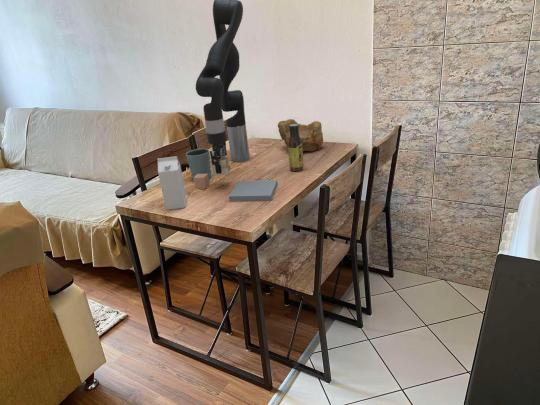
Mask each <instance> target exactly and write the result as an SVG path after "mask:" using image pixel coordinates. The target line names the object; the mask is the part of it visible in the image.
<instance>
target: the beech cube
mask: <svg viewBox="0 0 540 405" xmlns="http://www.w3.org/2000/svg"><path fill="white" fill-rule="evenodd" d="M218 157H219V156H218ZM218 160H219V159H218ZM216 162H217V161H216ZM220 162H221V171H222V173H221V174H217V173H216V169H215V165H212V160H211V159H210V165H211V168H210V169H211V175H212V176H227V175H229V172H230V171H231V164H230V156H229V155H227V156H222V159H221V161H220Z"/></svg>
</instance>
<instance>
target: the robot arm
mask: <svg viewBox="0 0 540 405" xmlns="http://www.w3.org/2000/svg"><path fill="white" fill-rule="evenodd" d="M243 14H244V5H243V3H242V1H240V0H213V4H212V16H213V17H212V18H213V26H214V31H215V39H216V41H215V42H214V43H213V44H212V46H211V47H210V49H209V50H208V51H209V52H208V54H207V59H206V62H205V65H204V67H203V68H202V70H201V72H200V74H198V75H199V76H198V77H197V79H196V82H195V91H196V94H197V95H198V96H199V97H203V98H211V99H210V100H211V101H210V102H207V103H206V104H204V105H203V116H204V123H205V124H204V127H205V132H206V140H207V143H208V144H209V145H211V146H212V148H211V150H209V155H210V161H211V160H212V165H215V169H216V173H217V174H221V173H222V171H221V162H220V161H221V159H222V156H228V155H227V154H228V152H227V142H226V141H227V139H228V146H229V153H230V160H231V162H235V163H240V162H241V163H242V162H246V161H248V160H250V158H251V156H250V149H249V141H248V140H249V139H248V132H247V123H246V113H245V101H244V99H245V98H244V94H243V92H242V90H241V89H235V90H229V88H230V86H231V84H232V82H233V81H234V79H235V78H236V76H237V74H238V72H239V70H240V52H239V50H238V48H237V46H236V44H235V43H234V40H235V38H236V35H237V33H238V31H239V28H240V25H241V23H242V20H243V16H244V15H243ZM226 25H227V26H228V27H227V28H226ZM223 112H227V113H229V112H235V113H234V115H233V116H230V117H229V118H227V119H226V121H224V120H225V119H224V116H223ZM225 123H226V125H225ZM226 131H227V132H226ZM226 133H227V134H226ZM227 136H228V137H227ZM218 156H219V157H218ZM218 159H219V160H218ZM216 161H217V162H216Z"/></svg>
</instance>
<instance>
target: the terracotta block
mask: <svg viewBox="0 0 540 405" xmlns="http://www.w3.org/2000/svg"><path fill="white" fill-rule="evenodd" d="M209 180H210V179H208V174H197V175H196V176H195V177H194V180H193V182H194V188H195V189H196V190H200V189H201V190H204V189H205V190H206V189H207V188H208V187H209V186H210V181H209Z"/></svg>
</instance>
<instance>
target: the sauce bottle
mask: <svg viewBox="0 0 540 405" xmlns="http://www.w3.org/2000/svg"><path fill="white" fill-rule="evenodd" d="M298 124H299V123H298ZM298 124H292V125H289V129H290V138H289V140H288V150H287V153H288V152H289V153H288V163H289V166H288V167H289V170H290V171H291V172H299V171H302V170H303V169H304V151H303V146H302V141H301V138H300V136H299V129H298V128H299V125H298Z"/></svg>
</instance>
